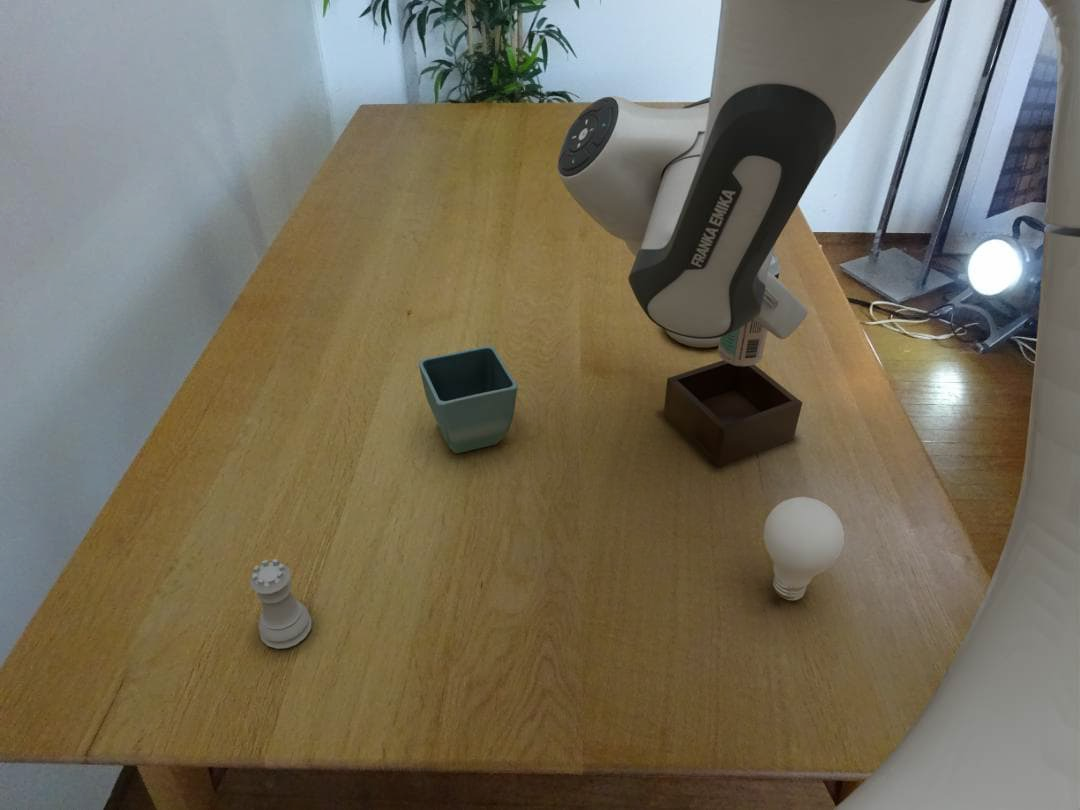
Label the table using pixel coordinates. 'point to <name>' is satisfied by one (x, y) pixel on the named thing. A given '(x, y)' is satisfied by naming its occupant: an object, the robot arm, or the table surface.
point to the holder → (731, 410)
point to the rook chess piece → (279, 606)
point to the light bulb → (801, 543)
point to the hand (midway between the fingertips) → (753, 302)
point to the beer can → (747, 337)
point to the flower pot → (470, 396)
